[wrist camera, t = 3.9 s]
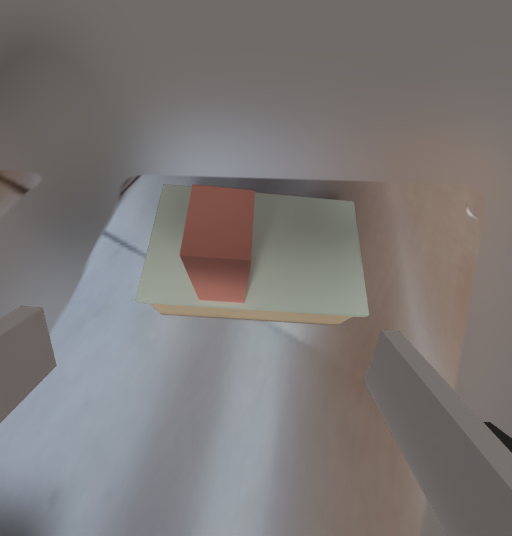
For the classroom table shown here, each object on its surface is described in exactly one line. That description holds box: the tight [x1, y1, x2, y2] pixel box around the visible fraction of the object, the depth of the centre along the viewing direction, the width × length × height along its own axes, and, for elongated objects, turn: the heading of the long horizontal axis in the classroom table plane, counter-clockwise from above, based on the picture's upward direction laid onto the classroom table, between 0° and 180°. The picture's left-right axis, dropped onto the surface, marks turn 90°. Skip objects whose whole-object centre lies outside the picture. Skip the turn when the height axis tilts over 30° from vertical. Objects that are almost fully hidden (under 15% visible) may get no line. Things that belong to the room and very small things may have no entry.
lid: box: [135, 184, 369, 317], centre depth 21 cm, size 21×13×10 cm, turn 87°
